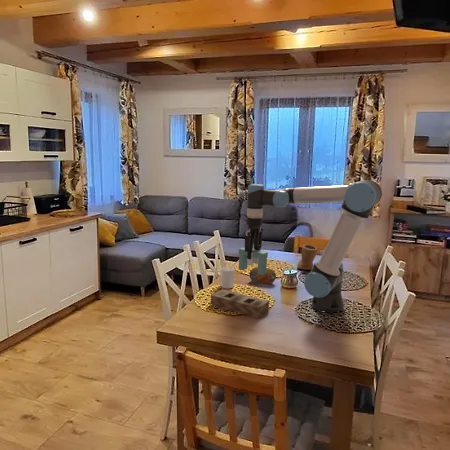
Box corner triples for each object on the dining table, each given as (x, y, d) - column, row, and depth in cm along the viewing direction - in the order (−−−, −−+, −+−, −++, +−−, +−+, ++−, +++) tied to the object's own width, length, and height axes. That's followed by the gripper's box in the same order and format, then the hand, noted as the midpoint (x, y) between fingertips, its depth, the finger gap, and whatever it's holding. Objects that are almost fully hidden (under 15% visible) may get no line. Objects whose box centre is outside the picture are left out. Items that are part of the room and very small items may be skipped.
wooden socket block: (268, 311, 188) (269, 301, 187) (257, 318, 180) (258, 307, 179) (222, 298, 202) (222, 289, 201) (210, 304, 194) (210, 295, 193)
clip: (266, 273, 195) (267, 252, 193) (262, 275, 192) (263, 253, 190) (242, 267, 203) (243, 247, 201) (238, 269, 200) (238, 248, 198)
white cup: (232, 289, 216) (233, 271, 215) (218, 288, 218) (218, 270, 216) (235, 284, 224) (235, 267, 222) (221, 283, 226) (221, 266, 224)
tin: (249, 281, 230) (249, 267, 229) (250, 279, 233) (251, 265, 232) (274, 285, 225) (275, 270, 223) (276, 283, 228) (276, 269, 226)
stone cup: (314, 272, 250) (316, 248, 248) (295, 270, 254) (296, 246, 251) (317, 265, 265) (318, 243, 262) (298, 263, 268) (300, 241, 265)
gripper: (257, 213, 202) (255, 259, 206) (237, 218, 188) (236, 266, 192) (270, 215, 197) (268, 262, 202) (251, 220, 184) (249, 269, 188)
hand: (252, 264), depth 197 cm, fingers closed on clip, 4 cm apart
